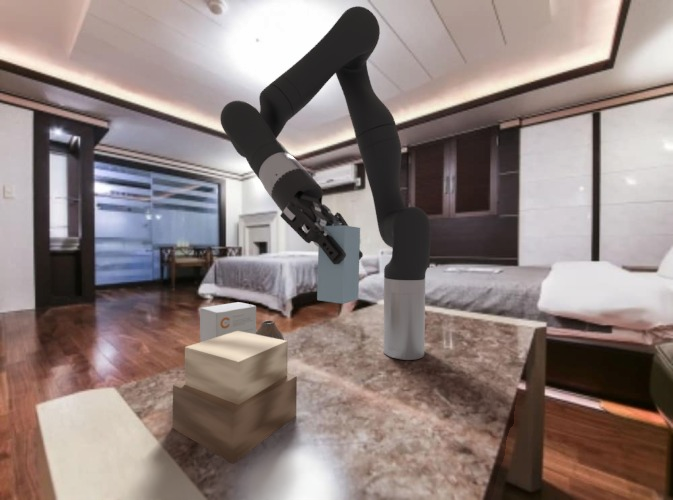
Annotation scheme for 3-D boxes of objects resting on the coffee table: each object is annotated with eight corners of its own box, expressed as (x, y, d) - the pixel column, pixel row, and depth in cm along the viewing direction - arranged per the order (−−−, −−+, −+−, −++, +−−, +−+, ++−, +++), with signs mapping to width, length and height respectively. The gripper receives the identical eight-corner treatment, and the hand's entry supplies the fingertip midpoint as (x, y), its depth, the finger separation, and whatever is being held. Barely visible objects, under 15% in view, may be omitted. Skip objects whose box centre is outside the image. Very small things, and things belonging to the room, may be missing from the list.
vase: (276, 372, 56) (277, 327, 56) (243, 369, 57) (244, 325, 57) (289, 359, 63) (290, 318, 63) (259, 356, 64) (260, 317, 64)
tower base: (239, 394, 48) (240, 358, 48) (296, 417, 42) (296, 376, 42) (172, 429, 39) (172, 384, 39) (232, 466, 32) (232, 412, 32)
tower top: (237, 361, 47) (237, 330, 47) (287, 375, 42) (287, 340, 42) (184, 384, 39) (184, 347, 39) (238, 404, 34) (238, 361, 34)
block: (333, 296, 47) (335, 228, 47) (358, 299, 45) (360, 227, 45) (317, 300, 44) (319, 226, 43) (342, 303, 41) (344, 225, 41)
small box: (238, 365, 60) (239, 301, 60) (256, 374, 56) (257, 305, 55) (198, 378, 53) (199, 307, 53) (215, 389, 49) (216, 312, 49)
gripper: (271, 156, 42) (340, 240, 36) (327, 177, 54) (386, 243, 48) (245, 195, 45) (305, 280, 39) (304, 208, 57) (357, 274, 51)
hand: (349, 259), depth 43 cm, fingers closed on block, 4 cm apart
